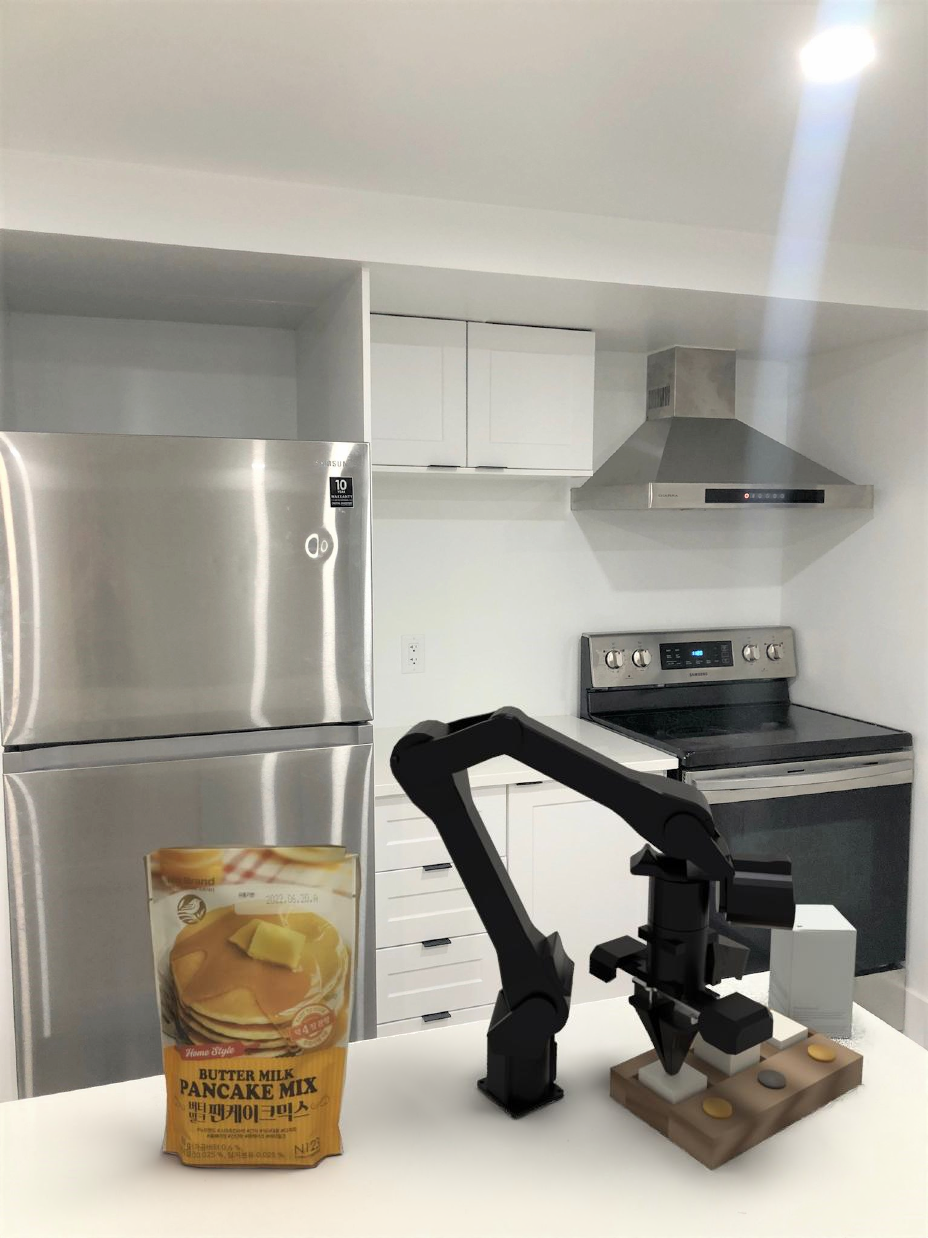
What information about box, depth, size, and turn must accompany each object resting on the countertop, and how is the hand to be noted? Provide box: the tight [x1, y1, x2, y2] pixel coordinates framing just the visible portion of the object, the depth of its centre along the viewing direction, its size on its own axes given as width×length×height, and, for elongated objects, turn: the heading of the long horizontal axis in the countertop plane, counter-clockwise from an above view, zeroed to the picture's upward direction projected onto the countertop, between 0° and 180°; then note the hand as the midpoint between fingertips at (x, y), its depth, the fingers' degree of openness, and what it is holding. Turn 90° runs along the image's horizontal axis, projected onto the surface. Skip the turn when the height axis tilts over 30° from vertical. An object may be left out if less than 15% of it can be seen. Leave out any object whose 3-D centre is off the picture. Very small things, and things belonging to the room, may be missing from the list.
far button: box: [764, 1010, 808, 1051], centre depth 101 cm, size 5×5×3 cm
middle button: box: [694, 1032, 760, 1077], centre depth 96 cm, size 5×5×3 cm
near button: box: [638, 1060, 707, 1106], centre depth 91 cm, size 5×5×3 cm
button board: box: [609, 1001, 864, 1171], centre depth 95 cm, size 23×13×3 cm, turn 125°
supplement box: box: [767, 904, 858, 1039], centre depth 108 cm, size 7×7×13 cm
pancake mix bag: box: [142, 843, 362, 1170], centre depth 84 cm, size 7×19×28 cm, turn 90°
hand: (672, 1073), depth 91 cm, fingers closed, pressing on near button
